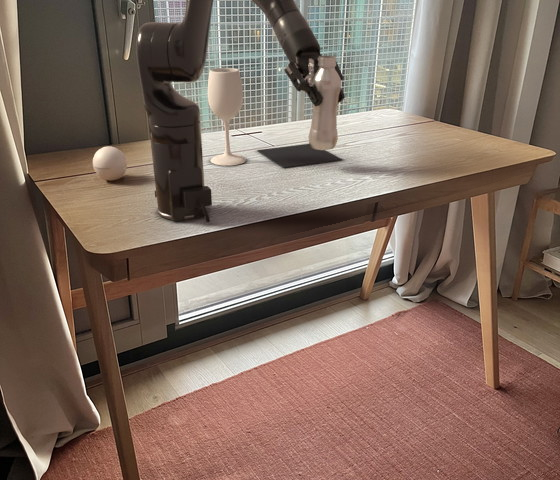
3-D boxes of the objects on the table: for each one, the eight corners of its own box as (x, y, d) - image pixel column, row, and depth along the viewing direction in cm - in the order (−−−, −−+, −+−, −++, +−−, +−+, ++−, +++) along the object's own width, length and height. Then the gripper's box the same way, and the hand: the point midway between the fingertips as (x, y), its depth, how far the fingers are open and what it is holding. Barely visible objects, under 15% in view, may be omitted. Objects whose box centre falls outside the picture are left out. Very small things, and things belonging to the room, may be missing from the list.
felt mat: (342, 160, 141) (342, 159, 141) (283, 168, 135) (283, 167, 135) (311, 144, 154) (311, 143, 153) (257, 151, 148) (257, 150, 148)
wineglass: (240, 167, 136) (237, 73, 125) (205, 164, 137) (200, 72, 127) (249, 157, 143) (247, 67, 132) (216, 154, 145) (211, 66, 134)
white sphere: (122, 172, 132) (118, 140, 128) (133, 181, 126) (129, 148, 123) (79, 179, 127) (73, 147, 123) (89, 189, 122) (83, 155, 118)
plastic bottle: (308, 145, 135) (312, 54, 125) (337, 146, 135) (343, 55, 125) (307, 152, 130) (310, 58, 120) (337, 153, 129) (343, 59, 119)
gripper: (279, 28, 120) (315, 95, 119) (328, 25, 128) (362, 88, 127) (264, 52, 127) (298, 117, 125) (311, 48, 135) (344, 108, 133)
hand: (330, 102), depth 126 cm, fingers closed on plastic bottle, 6 cm apart
